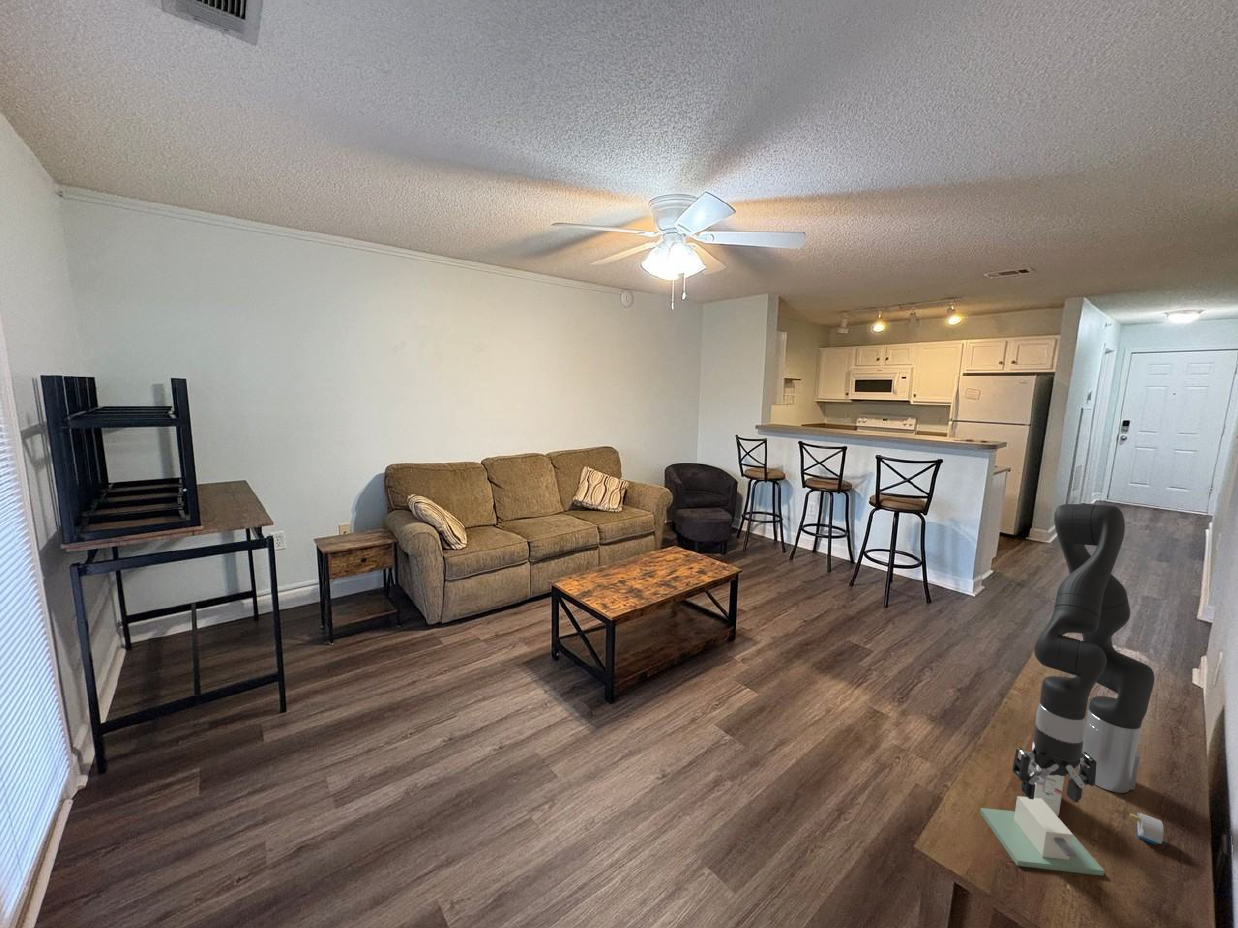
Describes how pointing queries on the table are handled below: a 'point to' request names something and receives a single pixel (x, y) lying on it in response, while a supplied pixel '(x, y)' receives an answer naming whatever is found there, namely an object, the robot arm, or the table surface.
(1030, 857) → the board
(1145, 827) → the electric motor
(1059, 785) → the ink cartridge box
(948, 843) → the table surface
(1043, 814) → the plug housing
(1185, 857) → the table surface
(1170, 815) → the table surface
